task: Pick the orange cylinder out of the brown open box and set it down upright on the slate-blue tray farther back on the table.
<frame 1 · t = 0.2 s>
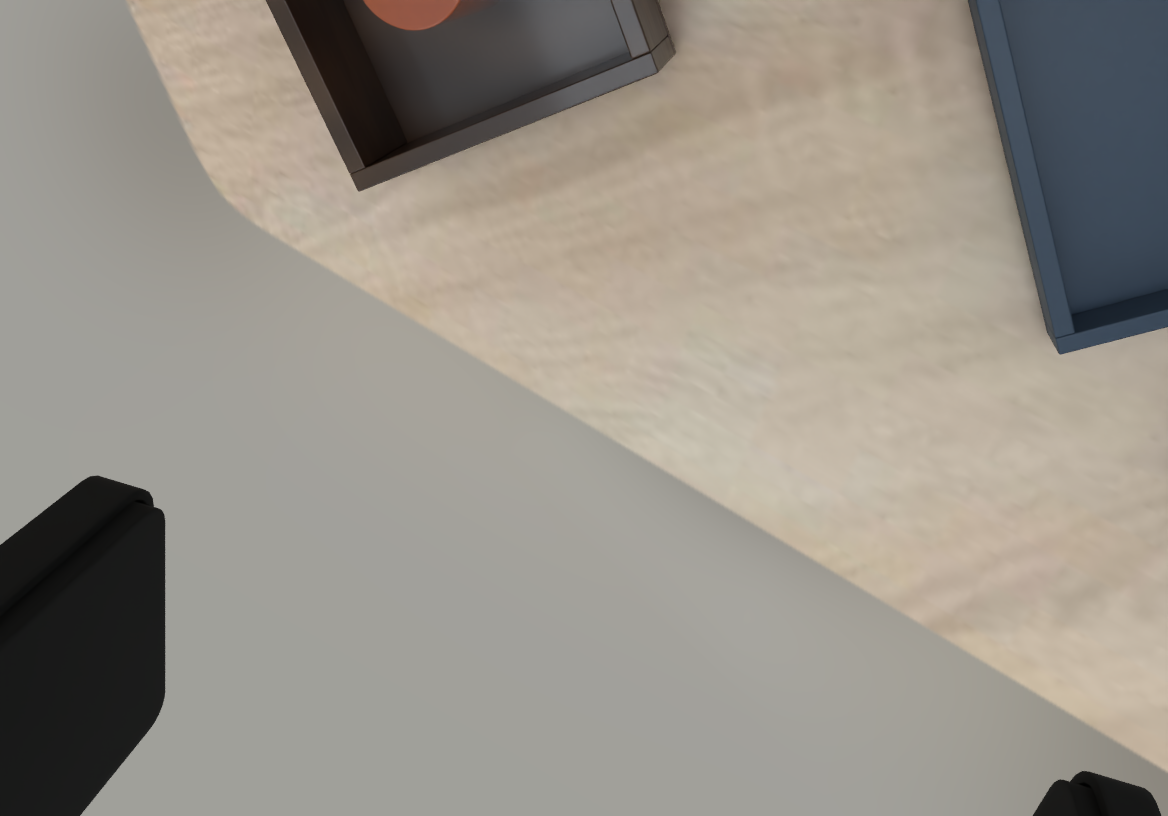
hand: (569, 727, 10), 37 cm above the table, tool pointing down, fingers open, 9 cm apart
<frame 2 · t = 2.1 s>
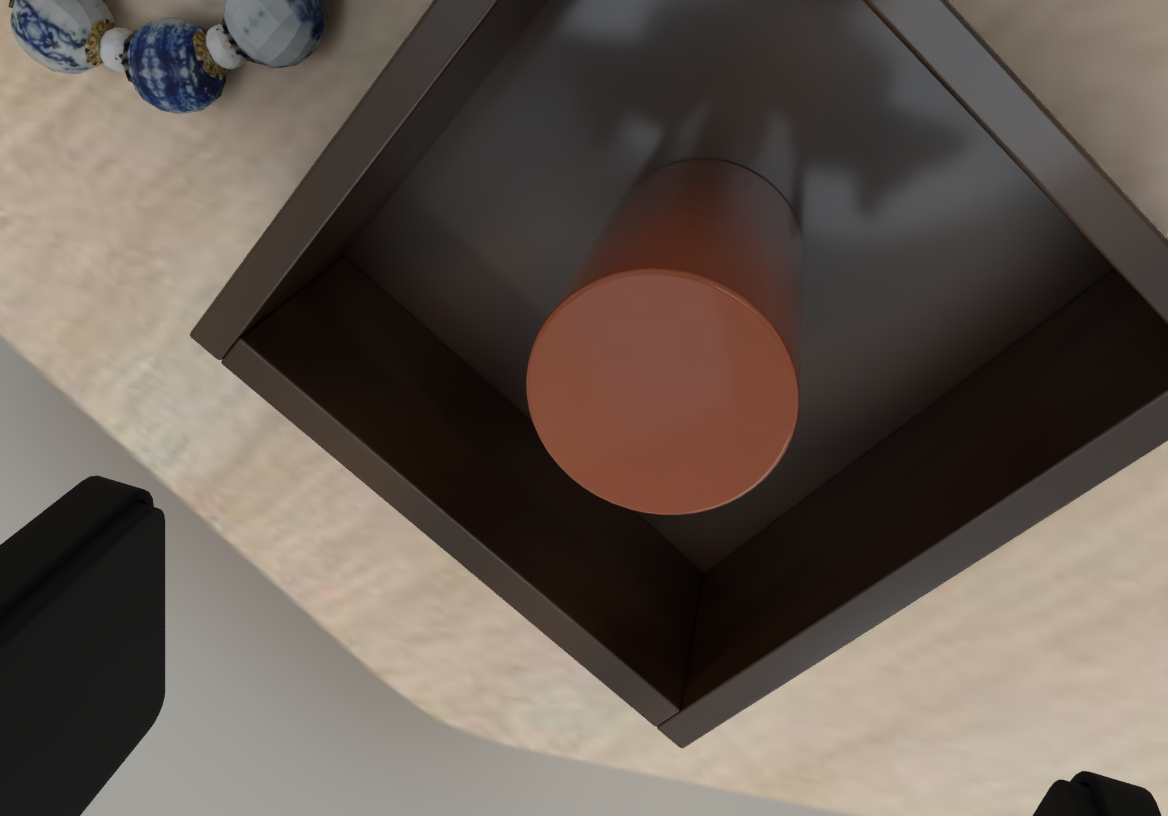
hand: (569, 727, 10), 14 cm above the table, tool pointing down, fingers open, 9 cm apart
orange cylinder: (702, 258, 22), resting on brown open box
brown open box: (704, 251, 22), on the table
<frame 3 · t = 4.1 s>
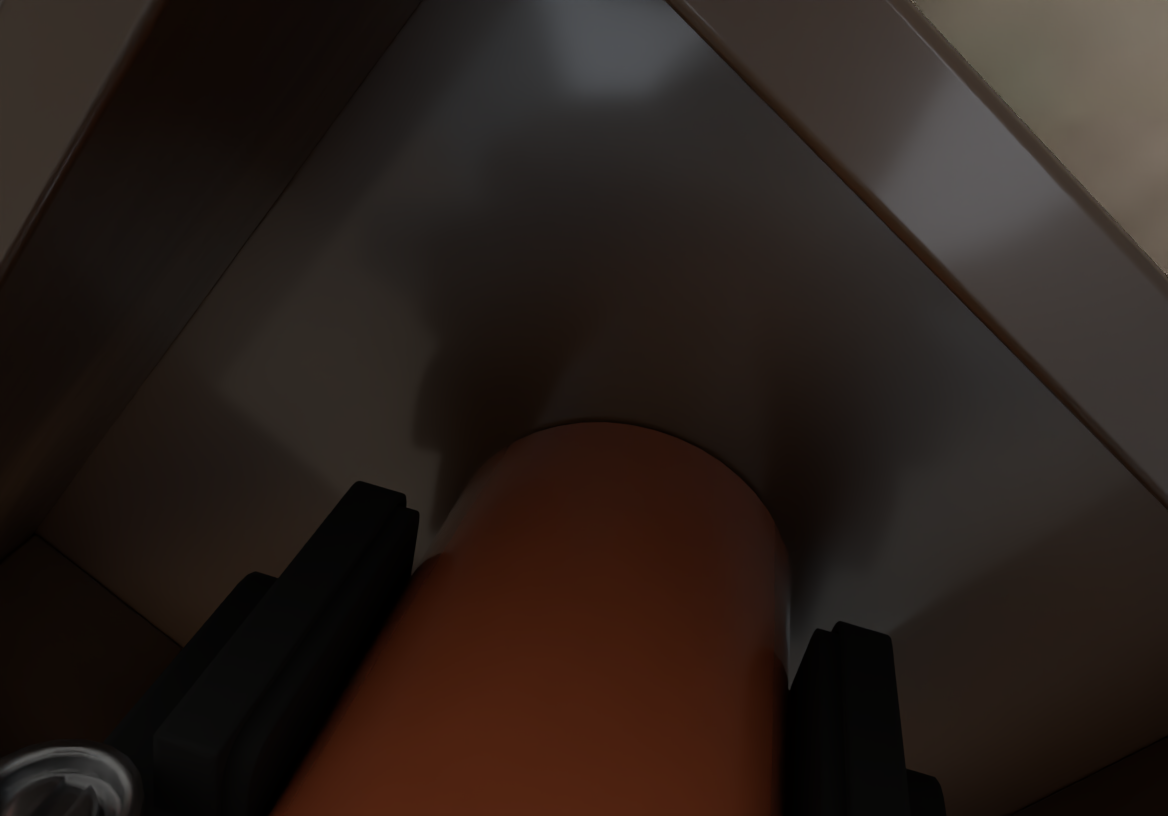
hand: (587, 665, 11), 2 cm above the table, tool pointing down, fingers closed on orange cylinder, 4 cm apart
orange cylinder: (614, 573, 13), point 1 cm above the table, touching brown open box, gripper
brown open box: (621, 551, 13), on the table
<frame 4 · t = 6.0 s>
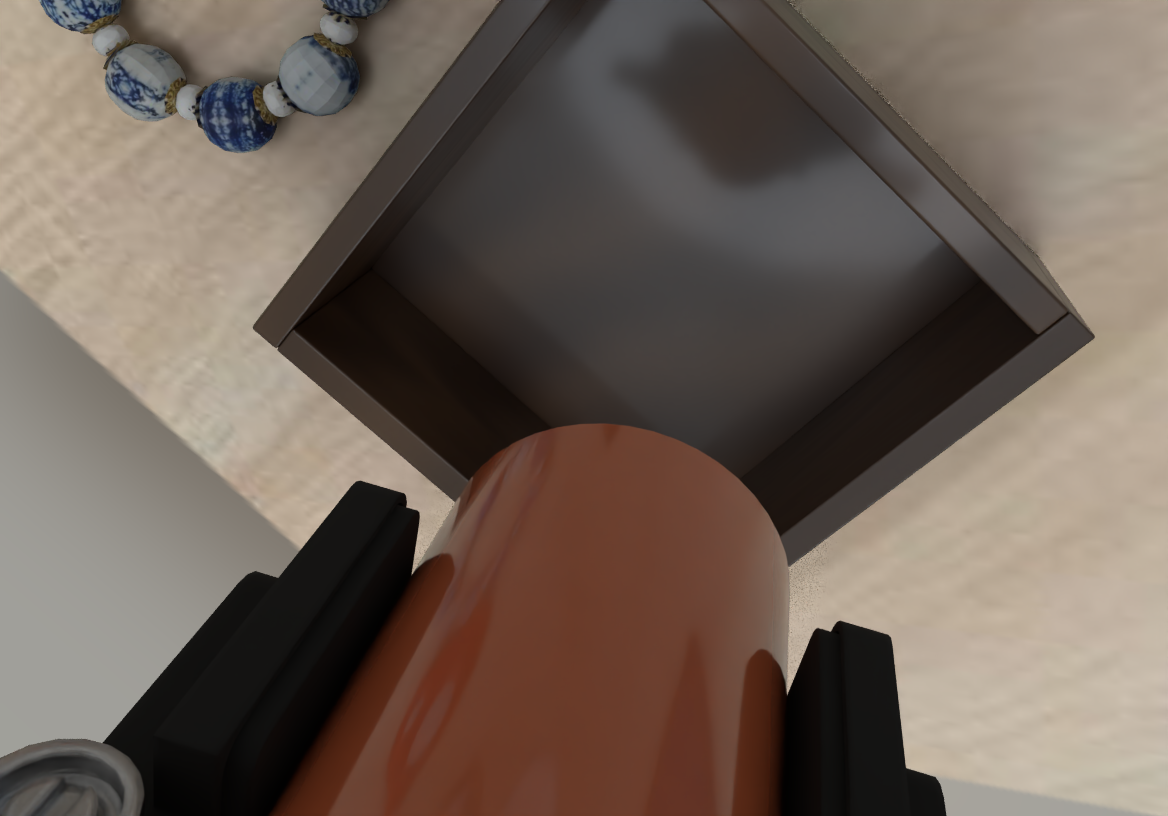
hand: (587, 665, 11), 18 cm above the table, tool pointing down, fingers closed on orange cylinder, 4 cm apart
orange cylinder: (613, 574, 13), point 16 cm above the table, touching gripper
brown open box: (666, 261, 27), on the table
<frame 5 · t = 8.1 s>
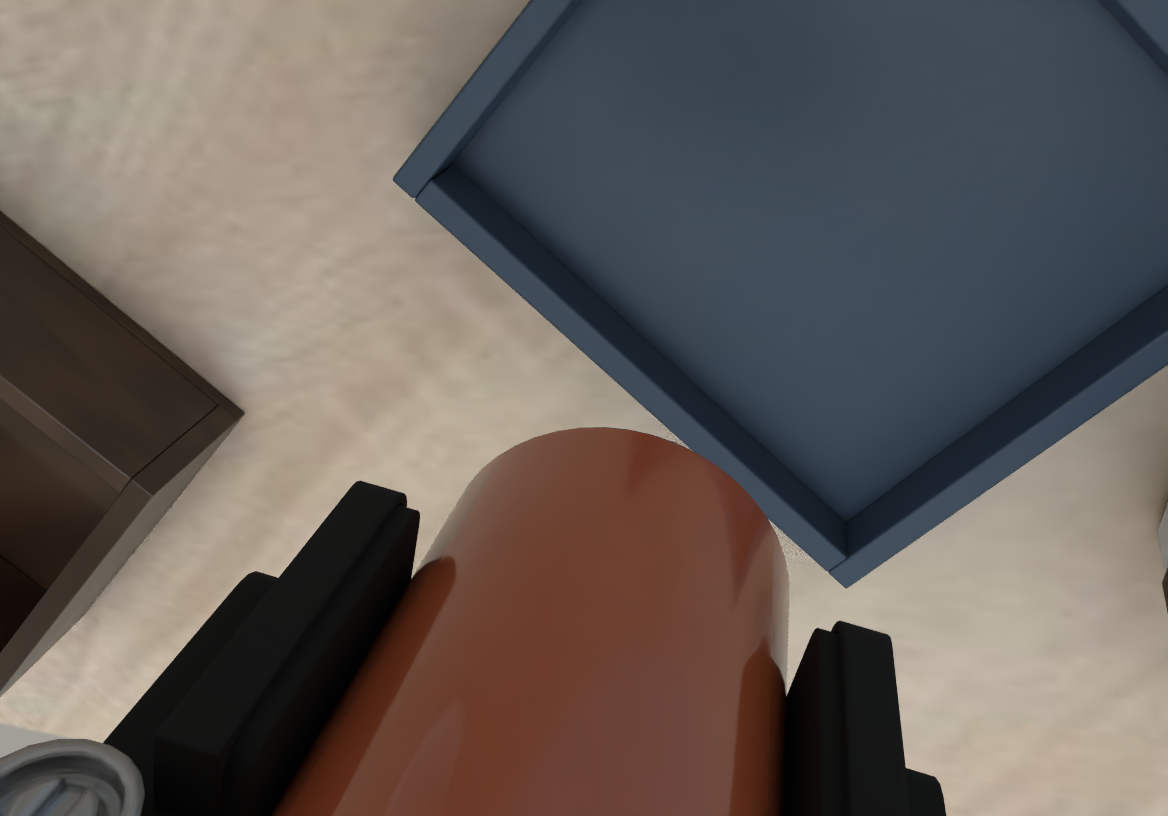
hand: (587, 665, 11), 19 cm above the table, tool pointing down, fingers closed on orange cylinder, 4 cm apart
orange cylinder: (613, 578, 13), point 17 cm above the table, touching gripper
tray: (837, 175, 27), on the table
brown open box: (5, 405, 36), on the table
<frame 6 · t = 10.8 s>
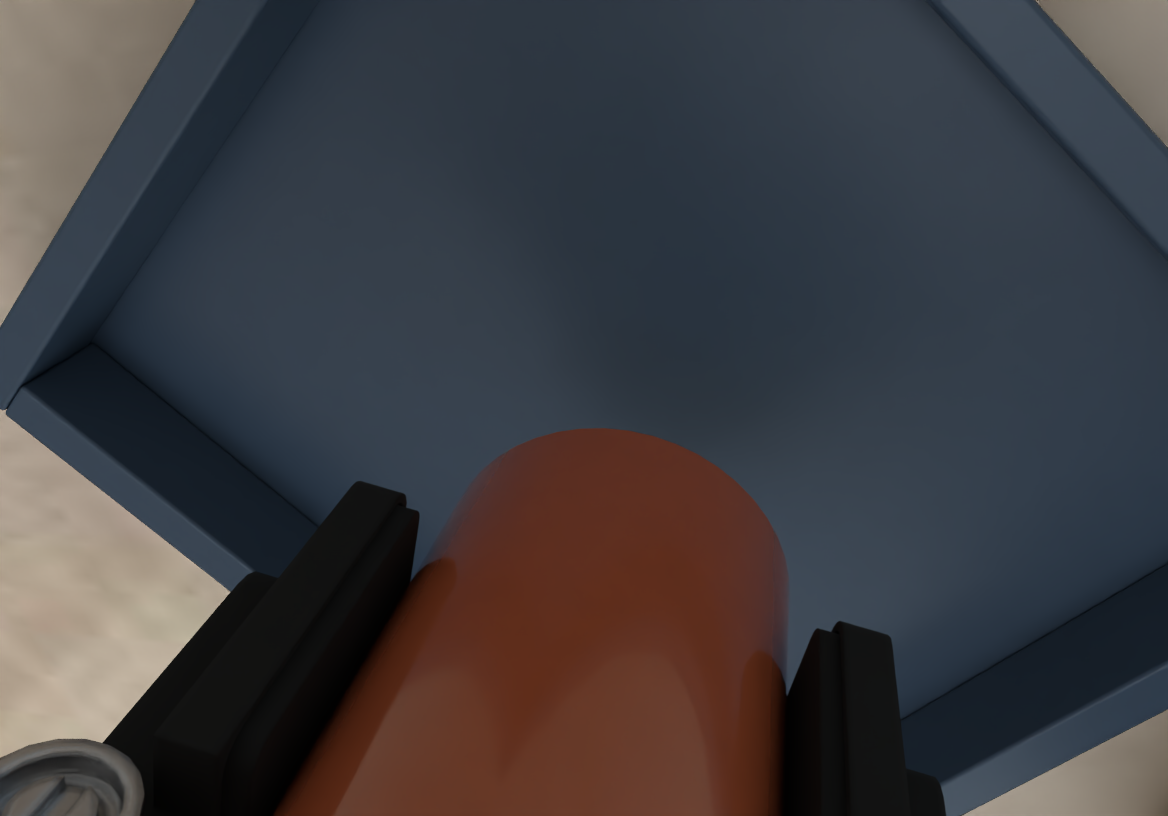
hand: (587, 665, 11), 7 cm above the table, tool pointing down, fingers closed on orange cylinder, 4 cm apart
orange cylinder: (613, 578, 13), point 5 cm above the table, touching gripper
tray: (657, 379, 17), on the table
when the fingers open (2 cm above the table, at t = 12.4 s): orange cylinder stays where it is, resting on tray.
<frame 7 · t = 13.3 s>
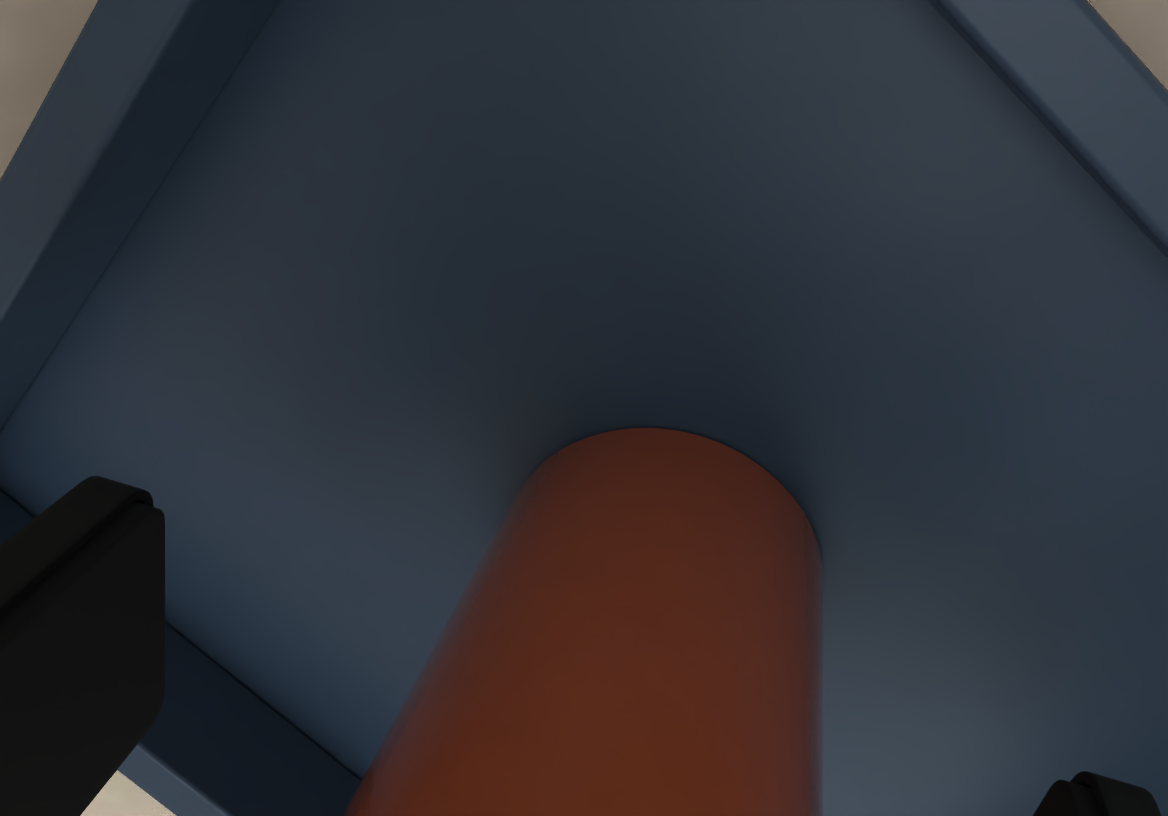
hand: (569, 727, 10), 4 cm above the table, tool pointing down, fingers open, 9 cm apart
orange cylinder: (658, 568, 14), resting on tray
tray: (657, 537, 14), on the table
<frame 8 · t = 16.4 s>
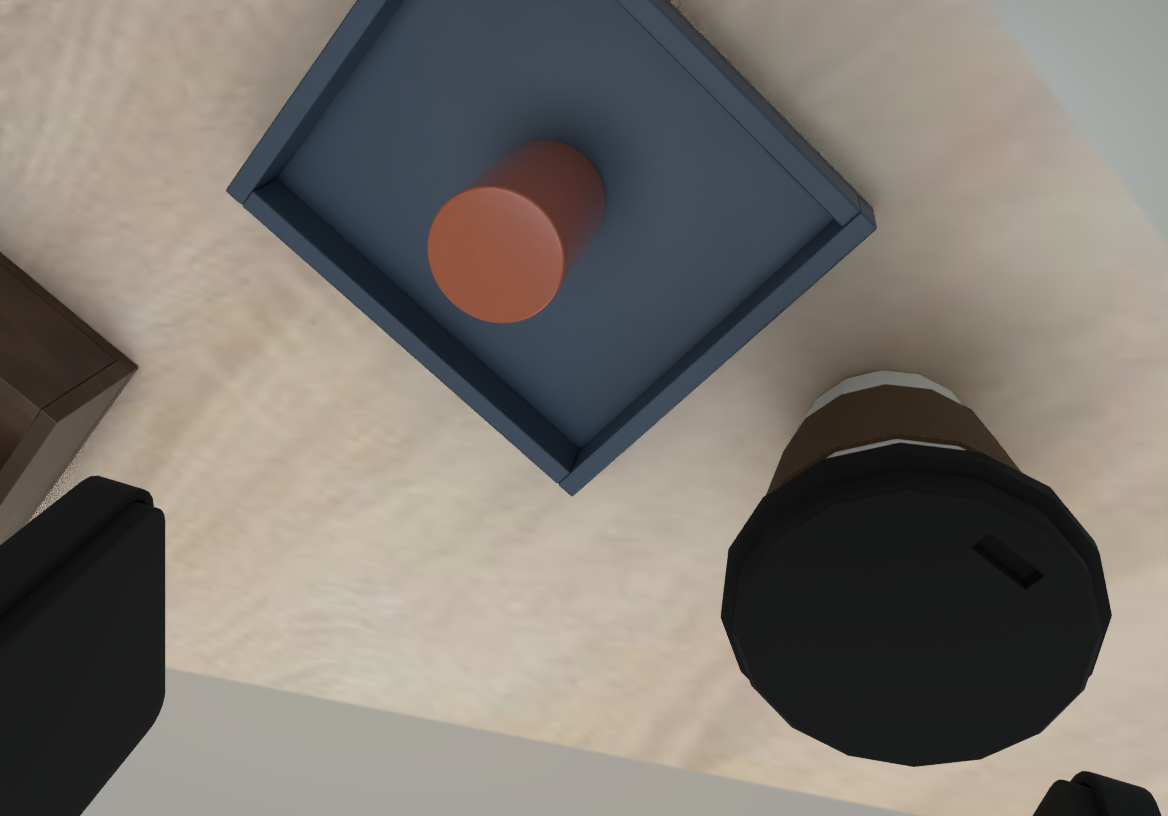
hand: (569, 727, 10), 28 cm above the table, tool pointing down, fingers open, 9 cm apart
orange cylinder: (547, 199, 37), resting on tray
tray: (548, 191, 37), on the table
coffee cup: (883, 438, 39), on the table
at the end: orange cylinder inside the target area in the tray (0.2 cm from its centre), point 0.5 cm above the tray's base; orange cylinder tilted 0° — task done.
